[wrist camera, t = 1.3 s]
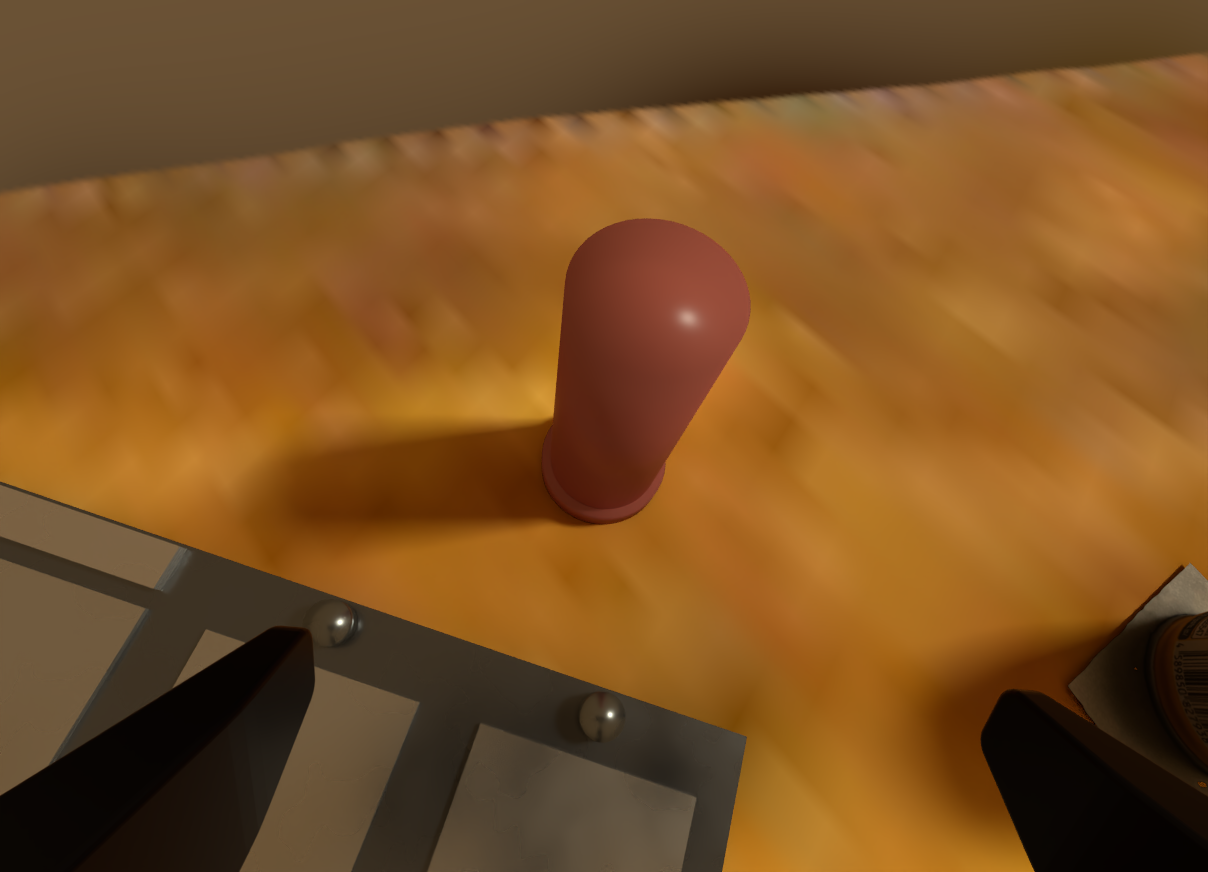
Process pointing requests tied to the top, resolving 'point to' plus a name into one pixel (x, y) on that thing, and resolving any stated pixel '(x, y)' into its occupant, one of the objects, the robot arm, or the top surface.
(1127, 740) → the condiment
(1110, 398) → the top surface
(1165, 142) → the top surface
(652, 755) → the board
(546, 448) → the red joystick handle
